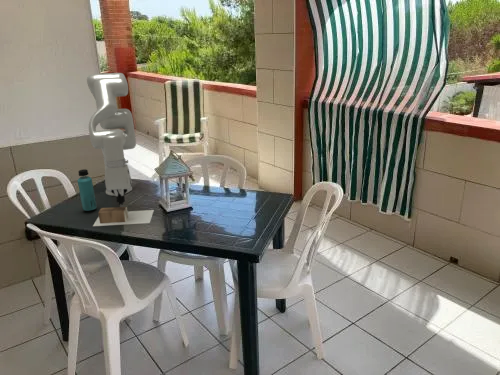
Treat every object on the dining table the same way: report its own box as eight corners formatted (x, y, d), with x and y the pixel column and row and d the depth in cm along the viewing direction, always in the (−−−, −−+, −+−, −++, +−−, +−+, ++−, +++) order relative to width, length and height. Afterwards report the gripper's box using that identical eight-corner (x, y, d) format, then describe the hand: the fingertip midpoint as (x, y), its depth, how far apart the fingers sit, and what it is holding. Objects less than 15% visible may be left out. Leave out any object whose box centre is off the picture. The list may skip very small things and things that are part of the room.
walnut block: (128, 217, 181) (102, 218, 180) (126, 206, 179) (101, 208, 178) (125, 221, 176) (100, 223, 175) (124, 211, 174) (98, 212, 173)
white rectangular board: (101, 213, 186) (100, 212, 186) (154, 210, 188) (153, 209, 187) (92, 227, 173) (92, 226, 172) (149, 223, 174) (149, 222, 174)
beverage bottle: (92, 214, 185) (85, 172, 178) (79, 213, 187) (72, 172, 180) (100, 208, 191) (93, 168, 184) (87, 207, 193) (80, 167, 186)
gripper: (135, 159, 173) (140, 199, 179) (99, 161, 172) (105, 201, 178) (132, 165, 166) (137, 206, 172) (94, 166, 165) (101, 207, 171)
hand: (121, 203), depth 175 cm, fingers closed
